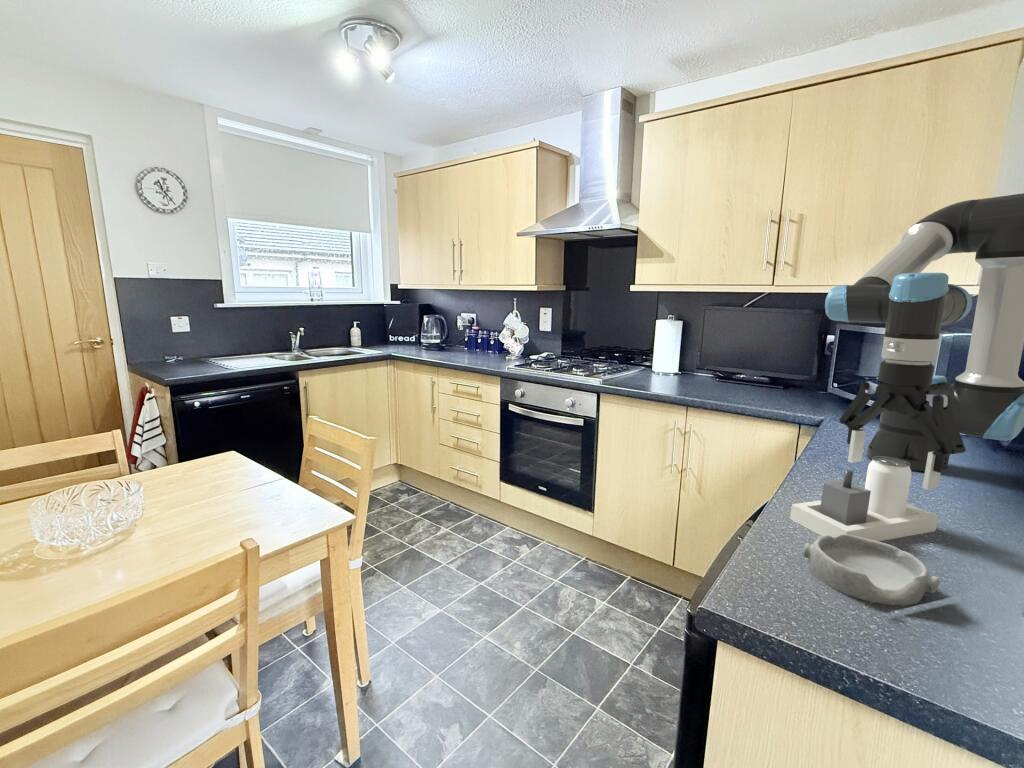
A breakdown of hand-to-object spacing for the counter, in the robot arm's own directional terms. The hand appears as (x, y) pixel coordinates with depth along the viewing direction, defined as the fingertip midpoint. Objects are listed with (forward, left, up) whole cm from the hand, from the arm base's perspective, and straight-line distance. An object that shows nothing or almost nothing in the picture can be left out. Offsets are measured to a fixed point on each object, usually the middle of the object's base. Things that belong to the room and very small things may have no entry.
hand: (889, 474), depth 89 cm
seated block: (+10, 0, -9) cm, 14 cm away
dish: (+22, +13, -10) cm, 28 cm away
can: (0, 0, -10) cm, 10 cm away
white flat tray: (+5, 0, -10) cm, 11 cm away
